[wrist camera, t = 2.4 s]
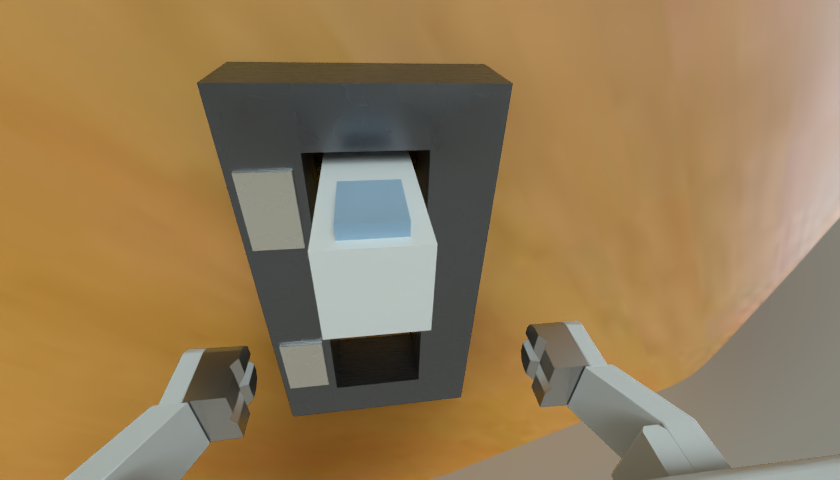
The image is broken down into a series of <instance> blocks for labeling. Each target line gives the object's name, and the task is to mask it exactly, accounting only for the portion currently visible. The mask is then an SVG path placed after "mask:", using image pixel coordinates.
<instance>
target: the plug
mask: <svg viewBox="0 0 840 480" xmlns="http://www.w3.org/2000/svg"><path fill="white" fill-rule="evenodd" d="M437 245H438V244H437V241H436V238H435V235H434V231H433V228H432V225H431V222H430V219H429V215H428V212H427V209H426V206H425V203H424V199H423V196H422V193H421V190H420V187H419V183H418V180H417V177H416V174H415V171H414V167H413V164H412V161H411V158H410V155H409V151H408V150H405V151H360V152H324V155H323V161H322V167H321V173H320V179H319V186H318V192H317V198H316V204H315V210H314V216H313V223H312V229H311V235H310V241H309V247H308V256H309V262H310V268H311V274H312V280H313V285H314V291H315V297H316V303H317V309H318V315H319V320H320V326H321V332H322V338H323V340H327V339H338V338H349V337H360V336H371V335H383V334H394V333H405V332H416V331H427V330H431V325H432V312H433V298H434V285H435V272H436V258H437Z"/></svg>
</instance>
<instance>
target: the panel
mask: <svg viewBox="0 0 840 480" xmlns="http://www.w3.org/2000/svg"><path fill="white" fill-rule="evenodd" d="M512 84H513V83H511V82H510V81H508V80H507V79H505V78H504V77H502V76H501V75H500V74H498V73H497V72H495V71H494V70H492V69H491V68H489V67H488V66H486V65H485V64H386V63H281V62H226V63H225V64H223V65H222V66H220V67H219V68H217V69H216V70H215V71H213V72H212V73H210V74H209V75H207V76H206V77H205V78H203V79H202V80H200V81H199V82H197V85H198V88H199V92H200V95H201V99H202V102H203V106H204V109H205V113H206V116H207V119H208V123H209V126H210V130H211V133H212V137H213V140H214V144H215V147H216V151H217V154H218V158H219V161H220V165H221V168H222V171H223V175H224V178H225V182H226V185H227V189H228V192H229V196H230V199H231V203H232V206H233V210H234V213H235V216H236V220H237V223H238V227H239V230H240V234H241V237H242V241H243V244H244V248H245V251H246V255H247V258H248V262H249V265H250V268H251V272H252V275H253V279H254V282H255V286H256V289H257V293H258V296H259V300H260V303H261V307H262V310H263V314H264V317H265V320H266V324H267V327H268V331H269V334H270V338H271V341H272V345H273V348H274V352H275V355H276V359H277V362H278V366H279V369H280V372H281V376H282V379H283V383H284V386H285V390H286V393H287V397H288V400H289V404H290V407H291V411H292V414H293V416H301V415H310V414H319V413H328V412H336V411H345V410H354V409H363V408H371V407H380V406H389V405H398V404H406V403H415V402H424V401H433V400H441V399H450V398H459V397H461V393H462V387H463V381H464V375H465V369H466V363H467V357H468V351H469V344H470V338H471V332H472V326H473V320H474V314H475V308H476V302H477V296H478V290H479V284H480V278H481V272H482V266H483V260H484V254H485V248H486V242H487V236H488V230H489V224H490V217H491V211H492V205H493V199H494V193H495V187H496V181H497V175H498V169H499V163H500V157H501V151H502V145H503V139H504V133H505V127H506V121H507V115H508V109H509V103H510V97H511V91H512ZM405 150H417V166H416V177H417V180H418V183H419V187H420V190H421V193H422V196H423V199H424V203H425V206H426V209H427V212H428V215H429V219H430V222H431V225H432V228H433V231H434V235H435V238H436V241H437V244H438V245H437V258H436V272H435V285H434V298H433V312H432V325H431V330H427V331H416V332H411V334H410V335H398V336H387V337H376V338H365V339H354V340H342V341H339V338H338V339H327V340H323V338H322V332H321V326H320V320H319V315H318V309H317V303H316V297H315V291H314V285H313V280H312V274H311V268H310V262H309V256H308V247H309V241H310V235H311V229H312V223H313V216H314V210H315V204H316V198H317V192H318V181H317V174H316V167H315V159H314V152H360V151H405Z"/></svg>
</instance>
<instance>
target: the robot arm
mask: <svg viewBox="0 0 840 480" xmlns="http://www.w3.org/2000/svg"><path fill="white" fill-rule="evenodd" d="M526 335H527V337H528V339H527V340H526V341H525V342H523V345H522V349H521V359H522V363H523V367H524V370H525V372H526V374H527V375H528V376H530V377H531V378H532V379H533V380H534V381H533V384H532V389H533V392H534V394H535V396H536V399H537V401H538V403H539V406H540V407H550V406H564V405H568V408H569V409H570V410H571V411H572V412H574V413H575V414H576V415H577V416H578V417H579V418H580V419H581V420H582V421H583V422H584V423H585V424H586V425H587V426H588V427H589V428H590V429H592V431H594V432H595V433H596V434H597V435H598V436H599V437H600V438H601V439H602V440H603V441H604V442H605V443H606V444H607V445H608V446H609V447H610V448H611V449H612V450H613V451H614V452H615V453H617V454H618V455H619V456H620V457H621V458H622V459H621V460H620V461H619V463H618V464H617V466H616V468H615V469H614V470H613V473H612V478H613V480H840V454H837V455H831V456H822V457H814V458H807V459H799V460H791V461H784V462H777V463H768V464H760V465H753V466H745V467H737V468H731V467H730V466H729V464H728V463H727V462H726V460H725V459H724V458H723V456H722V455H721V454H720V452H719V451H718V450H717V448H716V447H715V446H714V444H713V443H712V442H711V440H710V439H709V438H708V436H707V435H706V434H705V432H704V431H703V430H702V428H701V427H700V426H699V424H698V423H697V422H696V420H695V419H694V418H692V417H691V416H689V415H688V414H686V413H685V412H683V411H682V410H680V409H679V408H677V407H675V406H674V405H673V404H671V403H670V402H668V401H667V400H665V399H664V398H662V397H661V396H659V395H658V394H656V393H655V392H653V391H652V390H650V389H649V388H647V387H646V386H644V385H643V384H641V383H640V382H638V381H637V380H635V379H634V378H632V377H631V376H629V375H628V374H626V373H625V372H623V371H622V370H620V369H619V368H617V367H616V366H614V365H613V364H611V365H608V364H607V363H606V361H605V360H604V358H603V357H602V355H601V354H600V352H599V350H598V349H597V347H596V346H595V344H594V343H593V341H592V340H591V338H590V336H589V335H588V333H587V332H586V330H585V329H584V327H583V325H582V324H581V323H580V322H579V321H570V322H554V323H542V324H531V325H529V326H528V327H527V330H526ZM249 358H250V351H249V349H248V346H239V347H219V348H202V349H187V350H186V351H185V352H184V353H183V355H182V356H181V358H180V361H179V363H178V365H177V367H176V369H175V371H174V373H173V375H172V377H171V379H170V381H169V383H168V385H167V388H166V390H165V392H164V394H163V396H162V398H161V400H160V402H159V404H158V405H153V406H151V407H150V408H149V409H147V410H146V411H145V412H144V413H143V414H141V415H140V416H139V417H138V418H137V419H135V420H134V421H133V422H132V423H131V424H129V425H128V426H127V427H126V428H125V429H124V430H122V431H121V432H120V433H119V434H118V435H116V436H115V437H114V438H113V439H112V440H110V441H109V442H108V443H107V444H106V445H104V446H103V447H102V448H101V449H100V450H98V451H97V452H96V453H95V454H94V455H93V456H91V457H90V458H89V459H88V460H87V461H85V462H84V463H83V464H82V465H81V466H79V467H78V468H77V469H76V470H75V471H73V472H72V473H71V474H70V475H69V476H68V477H66V478H65V479H64V480H181V478H182V477H183V476H184V475H185V473H186V472H187V471H188V470H189V469H190V467H191V466H192V465H193V464H194V463H195V461H196V460H197V459H198V458H199V456H200V455H201V454H202V453H203V452H204V450H205V449H206V448H207V447H208V446H209V444H210V442H212V441H219V440H227V439H235V438H243V437H244V434H245V430H246V426H247V422H248V419H249V415H250V413H249V410H248V408H247V405H248V404H249V403H250V402H251V401H252V400H253V399H254V395H255V391H256V383H257V374H256V369H255V366H254V364H253V363H251V362H249Z"/></svg>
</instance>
